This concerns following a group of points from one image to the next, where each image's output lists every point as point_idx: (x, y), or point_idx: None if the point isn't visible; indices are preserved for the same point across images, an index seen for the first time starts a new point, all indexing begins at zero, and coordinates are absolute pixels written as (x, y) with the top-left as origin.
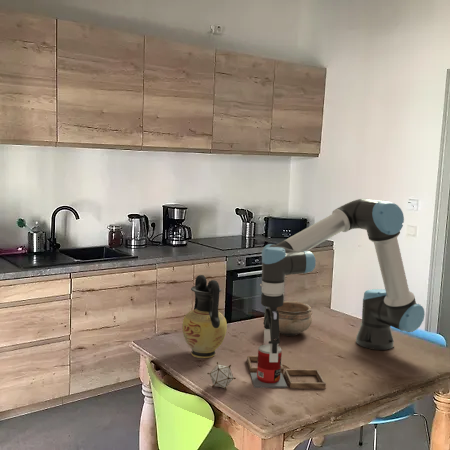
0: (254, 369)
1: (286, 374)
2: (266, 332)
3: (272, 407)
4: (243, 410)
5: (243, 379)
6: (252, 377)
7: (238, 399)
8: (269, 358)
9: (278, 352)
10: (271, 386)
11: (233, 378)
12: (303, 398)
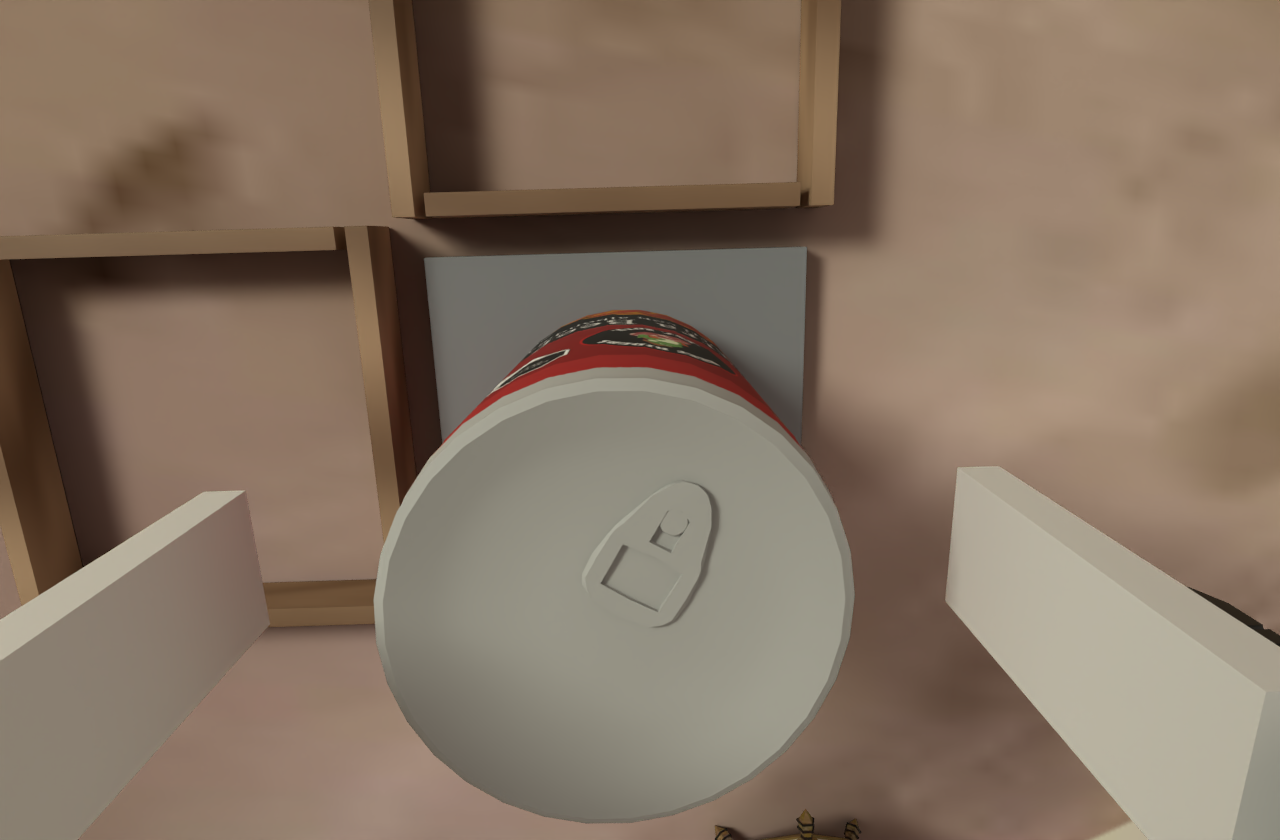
0: None
1: (535, 213)
2: (31, 826)
3: (1237, 459)
4: None
5: None
6: None
7: (1037, 732)
8: (979, 630)
9: (810, 463)
10: (798, 421)
11: (813, 835)
12: (1083, 97)
